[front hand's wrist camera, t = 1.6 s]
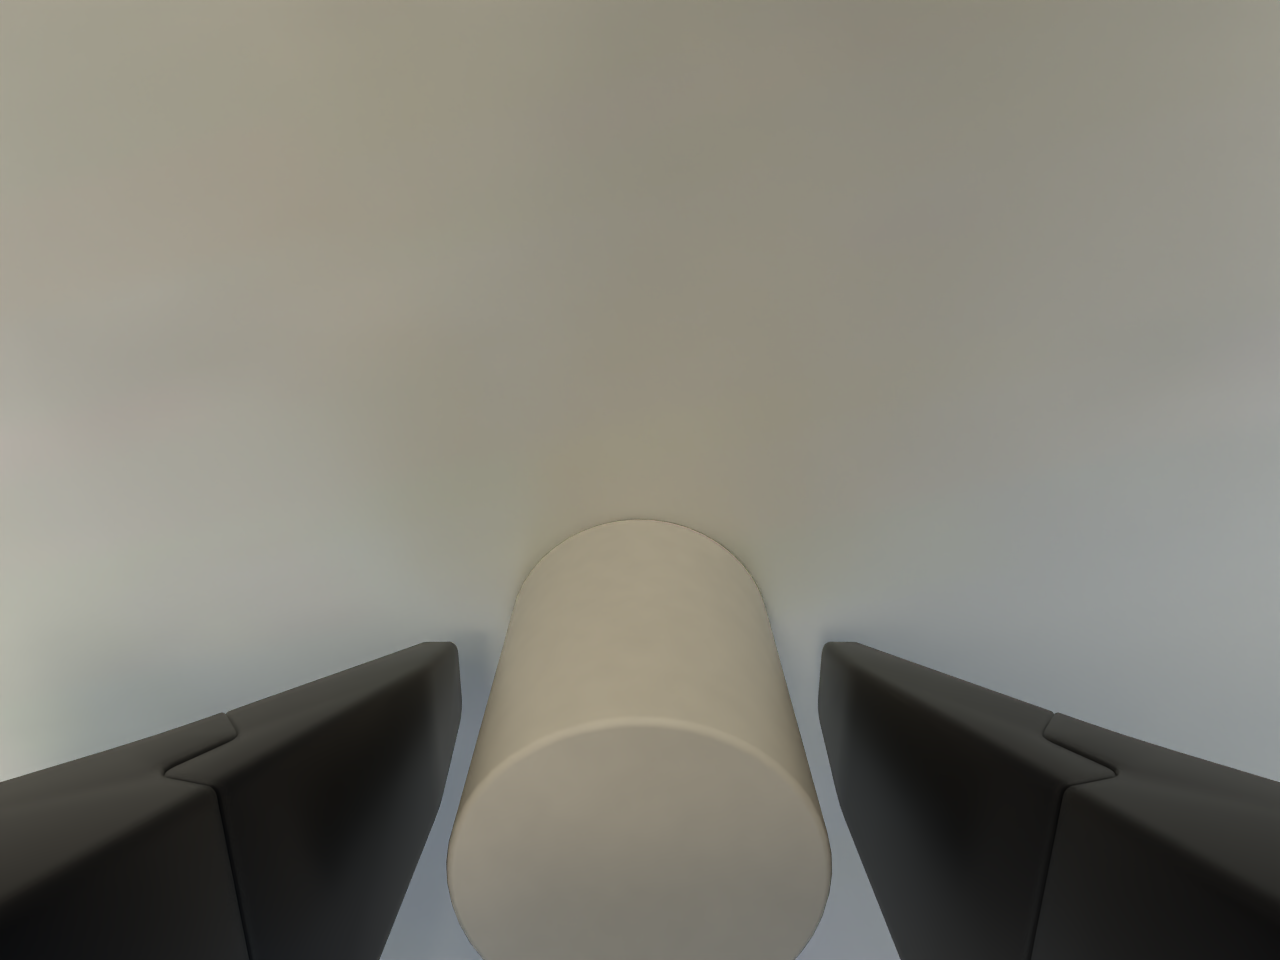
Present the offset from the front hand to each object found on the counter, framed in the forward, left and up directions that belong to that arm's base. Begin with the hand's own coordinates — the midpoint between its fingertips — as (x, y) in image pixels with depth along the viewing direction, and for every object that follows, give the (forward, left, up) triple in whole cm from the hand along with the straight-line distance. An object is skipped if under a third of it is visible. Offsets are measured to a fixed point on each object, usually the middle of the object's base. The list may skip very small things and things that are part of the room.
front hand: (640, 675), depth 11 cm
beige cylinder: (0, 0, -1) cm, 1 cm away
